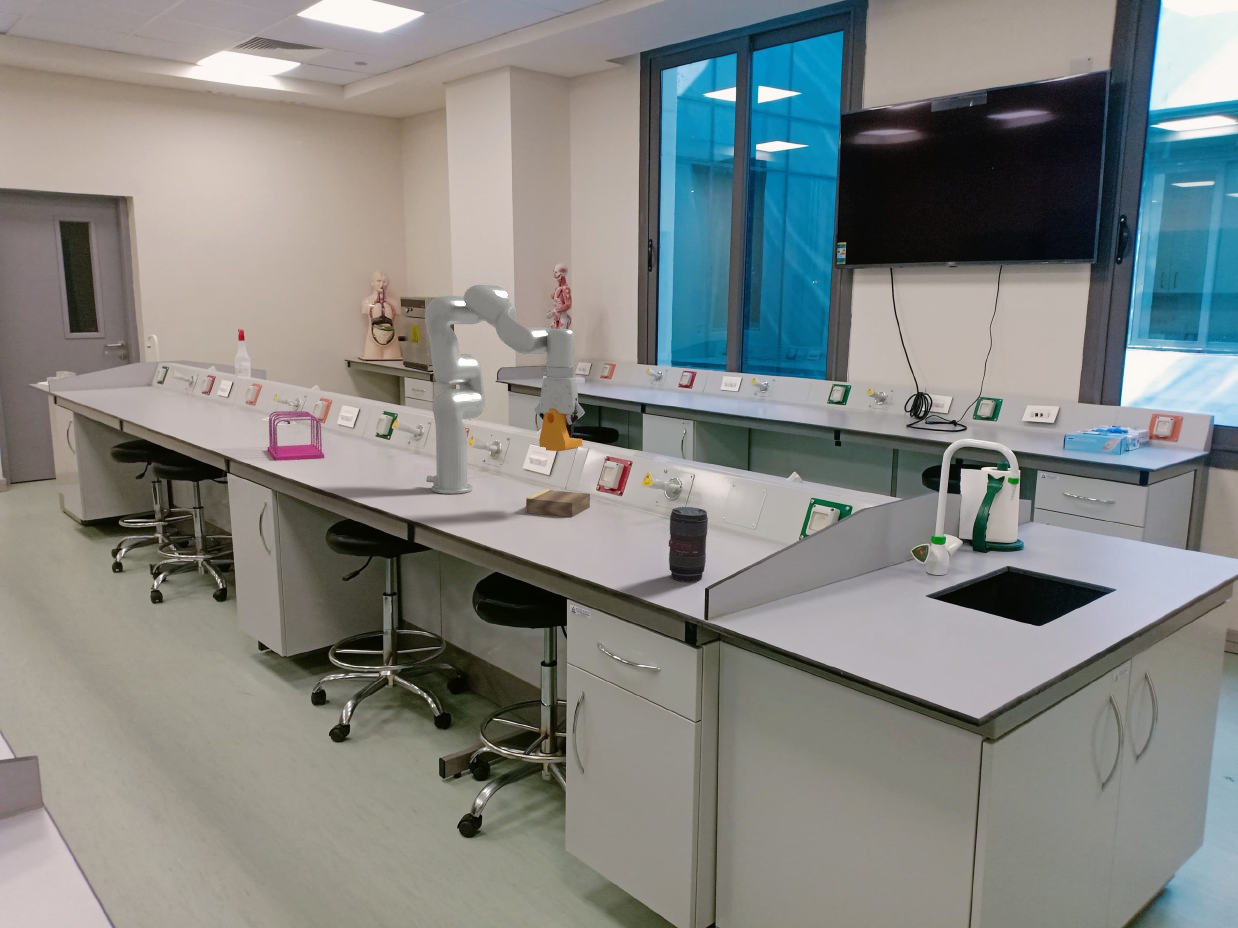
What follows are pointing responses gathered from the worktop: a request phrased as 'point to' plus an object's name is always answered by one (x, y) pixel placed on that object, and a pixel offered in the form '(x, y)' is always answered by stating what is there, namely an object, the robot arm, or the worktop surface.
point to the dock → (557, 503)
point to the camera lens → (687, 543)
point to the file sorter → (294, 450)
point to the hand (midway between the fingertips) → (559, 436)
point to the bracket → (556, 433)
